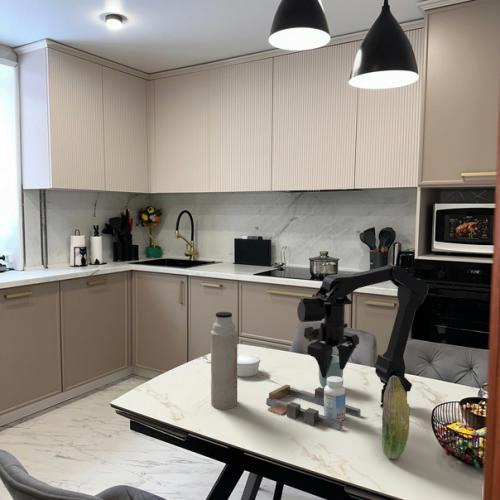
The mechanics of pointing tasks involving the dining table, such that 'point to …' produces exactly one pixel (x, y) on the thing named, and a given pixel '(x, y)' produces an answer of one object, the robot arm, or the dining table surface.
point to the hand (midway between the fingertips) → (333, 373)
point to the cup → (331, 371)
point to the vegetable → (394, 419)
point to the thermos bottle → (224, 362)
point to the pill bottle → (335, 398)
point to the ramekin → (247, 365)
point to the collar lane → (310, 414)
